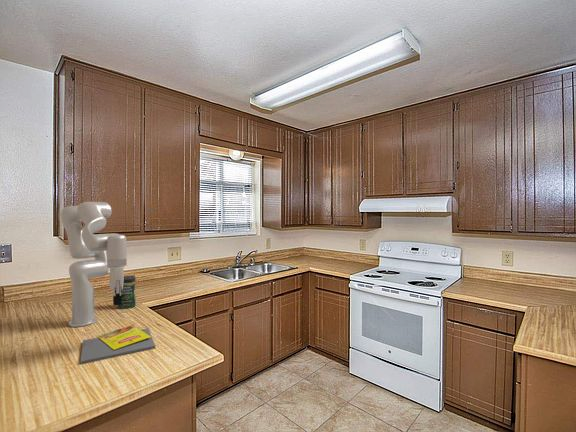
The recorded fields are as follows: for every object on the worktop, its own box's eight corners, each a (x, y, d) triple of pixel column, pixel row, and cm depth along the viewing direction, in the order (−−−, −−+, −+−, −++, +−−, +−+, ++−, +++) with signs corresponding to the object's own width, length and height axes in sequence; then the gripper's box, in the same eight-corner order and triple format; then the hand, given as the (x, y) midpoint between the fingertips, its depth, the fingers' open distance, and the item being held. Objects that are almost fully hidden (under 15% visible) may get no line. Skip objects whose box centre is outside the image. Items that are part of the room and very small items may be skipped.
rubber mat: (83, 342, 135) (83, 340, 135) (148, 330, 148) (148, 328, 148) (80, 364, 116) (80, 361, 116) (155, 348, 130) (155, 345, 129)
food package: (132, 324, 150) (151, 335, 136) (132, 326, 150) (151, 338, 136) (96, 335, 138) (113, 348, 125) (97, 337, 138) (113, 351, 125)
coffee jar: (116, 309, 178) (116, 277, 178) (119, 305, 186) (118, 274, 185) (135, 307, 182) (135, 276, 181) (136, 304, 189) (136, 273, 189)
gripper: (106, 261, 140) (107, 301, 141) (107, 266, 128) (108, 310, 128) (125, 259, 144) (125, 298, 145) (127, 264, 131) (128, 307, 132)
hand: (117, 304), depth 136 cm, fingers closed
